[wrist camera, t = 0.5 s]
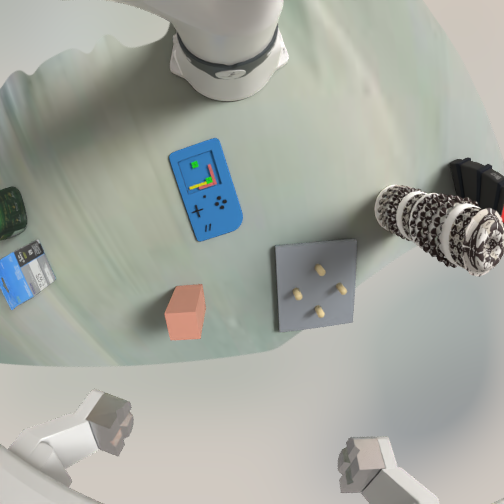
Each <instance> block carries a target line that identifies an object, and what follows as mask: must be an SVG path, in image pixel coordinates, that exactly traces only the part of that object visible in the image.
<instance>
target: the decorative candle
mask: <svg viewBox="0 0 504 504" xmlns="http://www.w3.org/2000/svg"><path fill="white" fill-rule="evenodd" d="M453 200H454V201H455V202H454V201H453ZM468 203H470V204H468ZM374 210H375V217H376V219H377V221H378V223H379V225H381V226H382V227H383V228H384V229H386V230H387V231H391V233H392V234H394V233H396V235H397V236H400V237H401V238H402V239H405V238H406V240H408V241H414V243H416V244H417V245H418V246H419V247H420V248H422V249H423V250H424V251H425V252H429V253H430V254H431V256H432V257H435V256H436V257H437V259H438V261H440V262H444V263H445V265H446V266H447V267H448V266H452V267H453V268H455V267H457V266H460V267H463V268H465V269H466V270H467V271H468V272H469V273H470V274H471V275H474V276H481V275H484V274H486V273H488V272H489V271H490V270H491V269H492V268H494V267H495V266H496V265H497V264H498V263H499V261H500V259H501V257H502V255H503V253H504V226H503V221H502V218H501V217H500V215H499V214H498V212H497V211H495V210H493V209H491V208H487V209H481V208H479V205H478V203H477V202H476V201H471V199H470V198H468V197H465V198H464V199H463V198H461V197H459V196H453V195H448V196H446V195H445V194H442V193H439V194H436V193H430V194H427V193H426V192H422V191H421V190H420V189H415V188H410V187H408V186H403V185H402V186H399V185H390V186H387V187H386V188H384V189H383V190H382V191H381V192H380V193H379V195H378V197H377V198H376V202H375V207H374ZM444 256H445V257H446V258H444Z"/></svg>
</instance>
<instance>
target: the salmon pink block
mask: <svg viewBox="0 0 504 504" xmlns="http://www.w3.org/2000/svg"><path fill="white" fill-rule="evenodd" d="M205 310H206V306H205V299H204V293H203V286H202V284H198V285H185V286H176V288H175V290H174V292H173V295H172V297H171V299H170V302H169V304H168V306H167V309H166V311H165V313H164V314H165V319H166V323H167V327H168V331H169V336H170V340H187V339H201V333H202V327H203V321H204V316H205Z"/></svg>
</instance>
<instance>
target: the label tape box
mask: <svg viewBox="0 0 504 504" xmlns="http://www.w3.org/2000/svg"><path fill="white" fill-rule="evenodd" d="M1 278H3V279H4V281H5V284H6V286H7V288H8V290H9V293H8V292H7V291H6V289H5V288H4V287H3V282H2V279H1ZM55 280H56V278H55V275H54V273H53V271H52V269H51V267H50V265H49V263H48V260H47V258H46V256H45V253H44V251H43V249H42V246H41V244H40V241H39V239H38V240H35V241H33V242H31V243H29V244H27V245H25V246H23V247H21V248H20V249H18V250H16V251H14V252H12V253H10V254H9V255H7V256H5V257H3V258H2V259H0V288H1V290H2V293H3V295H4V297H5V299H6V301H7V303H8V305H9V307H10V309H11V310H13V309H14V308H15V307H16V306H17V305H20V304H22V303H24V302H25V301H27V300H29V299H31V298H32V297H34V296H35V295H37V294H38V293H39V292H40V291H42V290H43V289H44V288H46V287H47V286H48V285H50V284H51V283H52V282H53V281H55Z"/></svg>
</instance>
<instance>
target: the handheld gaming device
mask: <svg viewBox="0 0 504 504" xmlns="http://www.w3.org/2000/svg"><path fill="white" fill-rule="evenodd" d="M169 159H170V163H171V166H172V169H173V172H174V175H175V178H176V181H177V184H178V187H179V190H180V193H181V196H182V199H183V202H184V204H185V207H186V210H187V213H188V216H189V219H190V222H191V225H192V227H193V230H194V233H195V236H196V239H197V240H198V241H204V240H207V239H210V238H213V237H216V236H219V235H223V234H226V233H229V232H232V231H234V230H236V229H237V228H238V227H239V226H240V225H241V223H242V220H243V214H242V210H241V207H240V204H239V201H238V198H237V195H236V191H235V188H234V185H233V182H232V179H231V176H230V173H229V169H228V166H227V163H226V160H225V157H224V154H223V151H222V147H221V144H220V141H219V140H218V139H217V138H213V139H210V140H207V141H204V142H201V143H198V144H195V145H192V146H189V147H187V148H184V149H181V150H178V151H175V152H173V153H171V154H170V156H169Z"/></svg>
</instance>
